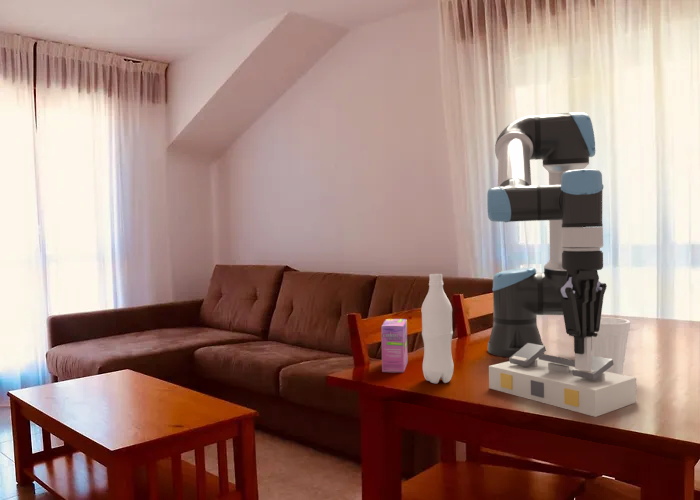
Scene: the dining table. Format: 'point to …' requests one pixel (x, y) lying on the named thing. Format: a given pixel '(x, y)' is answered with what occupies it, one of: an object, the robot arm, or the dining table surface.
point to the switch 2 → (557, 360)
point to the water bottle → (437, 332)
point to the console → (564, 386)
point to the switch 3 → (595, 368)
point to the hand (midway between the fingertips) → (583, 369)
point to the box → (394, 345)
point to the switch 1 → (527, 354)
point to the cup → (612, 342)
